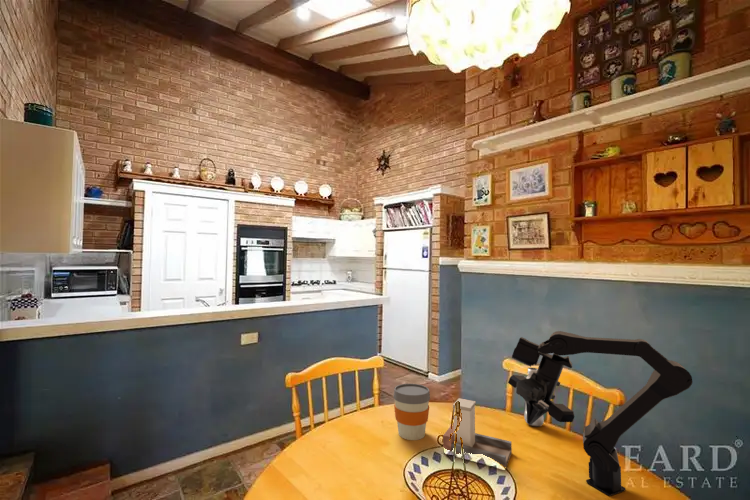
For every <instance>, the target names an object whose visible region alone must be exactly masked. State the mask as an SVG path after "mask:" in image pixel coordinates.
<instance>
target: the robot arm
mask: <svg viewBox="0 0 750 500" xmlns="http://www.w3.org/2000/svg"><path fill="white" fill-rule="evenodd" d="M651 345H652V344H650V343H649V342H648V341H647V340H645V339H642V338H637V339H630V338H627V339H626V338H612V337H609V338H608V337H591V336H583V335H579V334H576V333H571V332H566V331H563V330H558V331H554V332H552V333H551V335H550V336H549V339H546V340H545V341H542V342H541V343H540V344H537V343H536V342H532V341H530V340H529V339H527V338H525V337H523V336H521V337H520V338H519V339H518V342H517V343H516V346H515V347H514V350H513V352H512V355H511V359H513V360H515V361H517V362H519V363H522V364H524V365H526V366H527V367H529V368H532V366H534V365H535V366H537V364H538V362H539V359H540V357H541V356H542V357H541V360H540V362H539V365H538V367H537V369H538V370H537V372H536V373H534V372H533V374H532V375H531V377H530V378H529V379H527V378H526V376H524V375H517V374H513V375H512V374H511V376H509V379H508V380H507V383H508V385H510V386H511V387H512V388H515V394H517V395H519V396H520V397H521V398H523V400H524V401H525V406H526V405H527V423H528V424H527V423H526V424H527V425H529V424H533V423H534V422H535V421H536V420H537V419H538V418H540V417H541V416H542V415H543V416H544V415H545V414H547V413H548V415H549V416H551V418H553V420H555V421H557V422H560V423H573V422H574V420H575V413H574V411H573V410H572V409H570V408H569V407H568V406H566V405H565V404H563V403H555V402H554V401H552V400H555V398H556V395H555V394H554V393H555V390H556V387H560V385H561V382H560V381H559V380H560V377H561V374H562V372H563V368H564V367H566V368H569V369H572V368H573V363H572V361H571V360H570V356H573V355H578V354H585V353H591V354H603V355H616V356H617V355H619V356H629V357H630V356H631V357H639V358H641V359H642V360H643V361H644V362H646V363H647V365H649V366H650V367H651V368H652V369H653V371H652V372H651V375H650V376H649V379H648V380H647V381H646V383H645V385H644V386H643V387H641V389H639V390H638V391H637V392H636V393H635V394H634V395H633V396H631V398H629V399H628V400H627V401H626V402H625V403H624V404H622V405H621V407H619V408H618V409H617V410H616V411H614V413H613V414H612V415H610V416H609V417H608V418H607V419H604V420H603V421H600V422H599V421H598V420H597V418H593V419H592V420H591V422H590V423H589V424H588V425H586V426H585V425H584V429H583V430H584V431H583V433H582V445H583V450H584V452H585V453H586V454H587V456H589V461H588V479H586V480H585V482H586V484H588V485H590V486H592V487H594V488H595V489H597V490H599V492H602V493H604V494H606V496H610V497H611V496H614V495H617V494H620V493H622V492H625V491H626V487H625V486H622V469H621V468H622V467H621V466H620V460H619V456H618V455H619V454H618V451H617V449H616V448H615V447H616V445H617V443H618V441H619V440H620V438H621V436H623V434H624V433H626V432H627V431H628V430H629V429H630V428H632V427H633V426H634V425H635V424H637V423H638V421H640V420H641V419H642V418H643V417H644V416H646V415H647V414H648V413H649V412H650V411H651V410H653V409H654V408H655V407H656V406H657V405H658V404H660V402H662V401H664V400H666V399H669V398H673V397H676V396H677V395H679V394H681V393H683V392H684V391H686V390H688V389H690V388H691V386H692V384H693V377H692V375H691V373H690V372H689V371H688V370H687V369H686V368H685V367H684V366H683V365H682V364H681V363H678V362H677V361H675V360H669V359H668V358H666V356H664V355H663V354H661V353H660V351H658V350H656V348H654V347H652V346H651ZM563 356H564V357H563Z"/></svg>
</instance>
